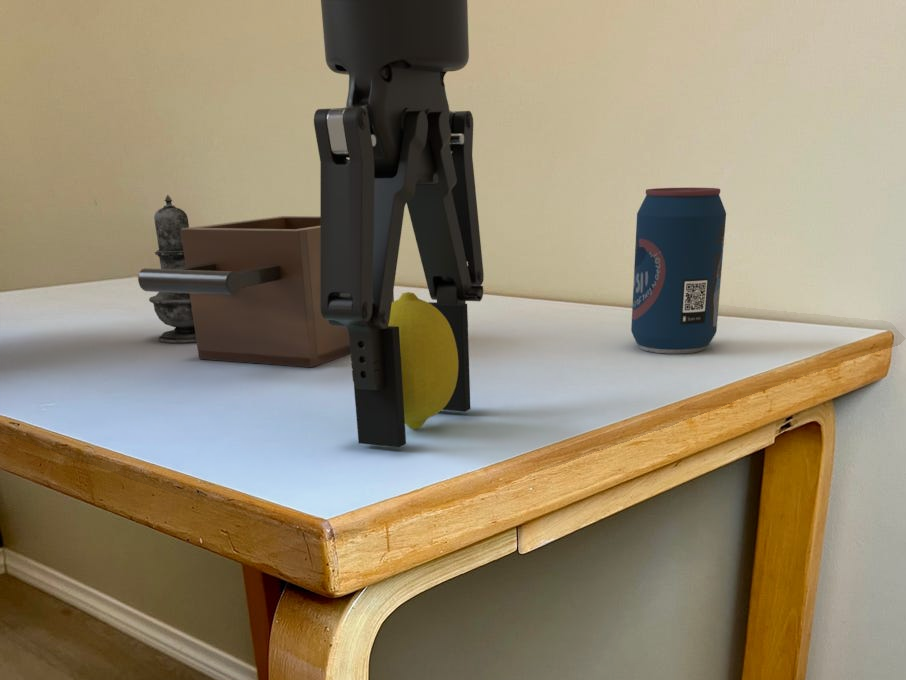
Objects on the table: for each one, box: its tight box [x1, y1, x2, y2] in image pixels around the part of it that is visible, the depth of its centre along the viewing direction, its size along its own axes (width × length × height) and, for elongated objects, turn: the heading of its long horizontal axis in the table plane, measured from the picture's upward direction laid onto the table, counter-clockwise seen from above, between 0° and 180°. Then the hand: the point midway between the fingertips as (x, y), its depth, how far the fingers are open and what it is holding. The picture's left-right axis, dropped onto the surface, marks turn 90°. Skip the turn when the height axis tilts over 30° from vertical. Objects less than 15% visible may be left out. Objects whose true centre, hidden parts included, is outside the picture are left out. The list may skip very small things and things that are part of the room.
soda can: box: [630, 187, 727, 355], centre depth 81 cm, size 7×7×12 cm
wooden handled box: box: [137, 215, 395, 368], centre depth 82 cm, size 21×11×10 cm, turn 156°
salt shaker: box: [148, 194, 197, 344], centre depth 90 cm, size 6×6×12 cm
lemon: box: [388, 291, 458, 430], centre depth 60 cm, size 6×6×8 cm
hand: (417, 424), depth 61 cm, fingers open, 8 cm apart
